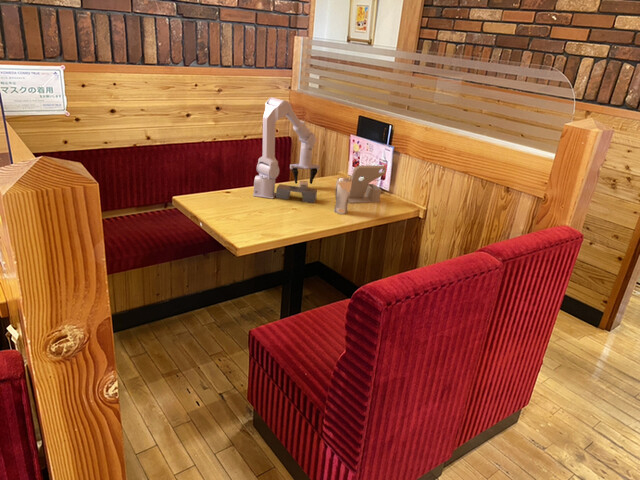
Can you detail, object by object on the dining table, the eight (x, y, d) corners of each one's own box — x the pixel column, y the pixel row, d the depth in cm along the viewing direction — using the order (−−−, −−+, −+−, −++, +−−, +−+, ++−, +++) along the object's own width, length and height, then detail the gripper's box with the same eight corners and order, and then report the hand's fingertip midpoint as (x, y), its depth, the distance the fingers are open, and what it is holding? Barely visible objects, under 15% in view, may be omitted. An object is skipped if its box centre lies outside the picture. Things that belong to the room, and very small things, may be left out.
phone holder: (372, 195, 247) (377, 160, 240) (382, 202, 239) (387, 166, 232) (340, 196, 241) (345, 160, 233) (349, 203, 232) (354, 166, 225)
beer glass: (348, 210, 224) (352, 178, 218) (348, 215, 217) (352, 182, 211) (333, 208, 224) (337, 176, 218) (332, 213, 218) (336, 180, 212)
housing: (275, 198, 229) (276, 187, 227) (278, 194, 235) (279, 184, 233) (314, 203, 227) (315, 193, 225) (316, 199, 233) (317, 189, 231)
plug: (300, 196, 235) (301, 189, 234) (298, 187, 248) (299, 180, 247) (308, 196, 236) (309, 189, 235) (306, 187, 249) (307, 181, 247)
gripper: (293, 158, 236) (290, 185, 241) (322, 158, 240) (319, 185, 245) (289, 154, 242) (287, 181, 247) (318, 155, 246) (315, 181, 251)
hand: (303, 183), depth 246 cm, fingers open, 7 cm apart
